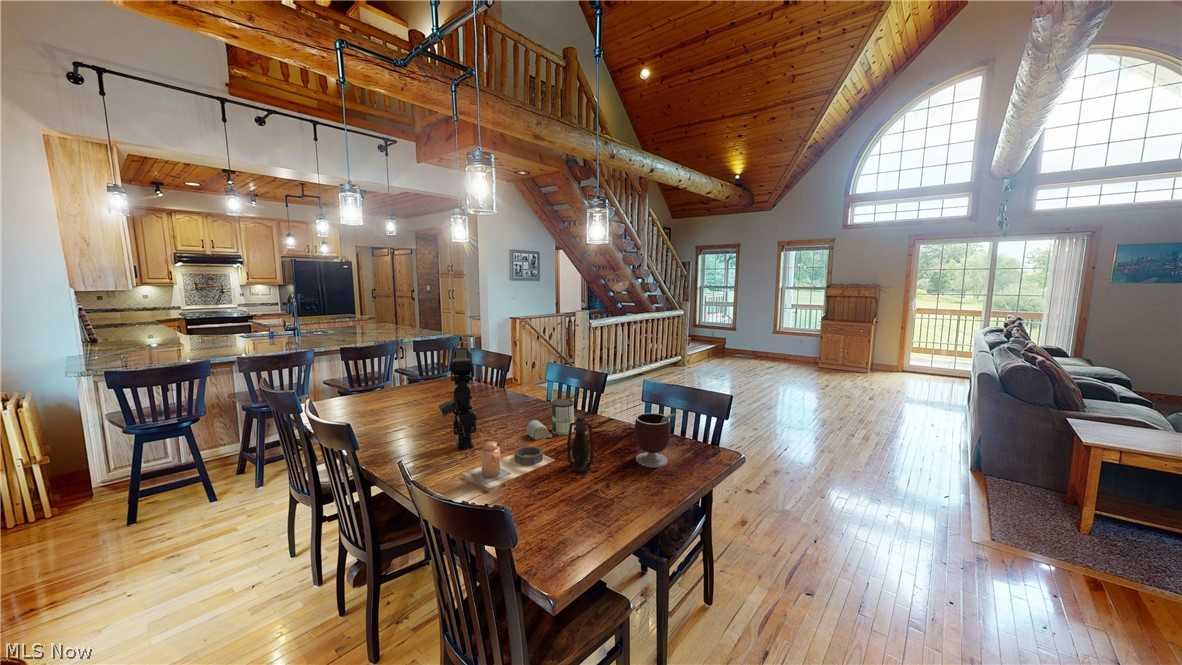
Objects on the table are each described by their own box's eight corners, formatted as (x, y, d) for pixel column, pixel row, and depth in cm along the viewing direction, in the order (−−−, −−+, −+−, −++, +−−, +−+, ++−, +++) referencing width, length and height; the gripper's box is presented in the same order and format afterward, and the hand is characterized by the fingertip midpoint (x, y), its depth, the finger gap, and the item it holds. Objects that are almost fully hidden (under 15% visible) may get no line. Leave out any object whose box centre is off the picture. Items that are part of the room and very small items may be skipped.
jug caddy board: (529, 451, 173) (528, 441, 173) (555, 463, 163) (555, 452, 162) (463, 477, 152) (462, 465, 151) (488, 492, 141) (488, 480, 140)
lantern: (575, 476, 152) (574, 395, 148) (565, 467, 160) (565, 390, 155) (594, 471, 156) (595, 392, 152) (584, 463, 163) (585, 387, 159)
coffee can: (547, 431, 196) (546, 402, 194) (561, 425, 204) (561, 397, 202) (564, 436, 190) (564, 406, 188) (578, 430, 198) (578, 400, 196)
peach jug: (479, 472, 152) (478, 442, 150) (496, 467, 155) (495, 439, 154) (488, 482, 144) (488, 451, 143) (506, 477, 147) (506, 447, 146)
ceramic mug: (533, 444, 181) (534, 426, 180) (525, 438, 188) (525, 421, 187) (555, 439, 187) (556, 422, 186) (547, 433, 194) (547, 417, 193)
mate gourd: (629, 465, 162) (630, 414, 159) (638, 451, 175) (639, 404, 172) (670, 471, 157) (672, 419, 154) (676, 456, 170) (678, 408, 167)
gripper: (436, 389, 164) (438, 428, 166) (443, 402, 147) (445, 445, 149) (466, 386, 169) (467, 424, 171) (476, 398, 152) (477, 439, 155)
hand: (464, 432), depth 161 cm, fingers open, 9 cm apart
